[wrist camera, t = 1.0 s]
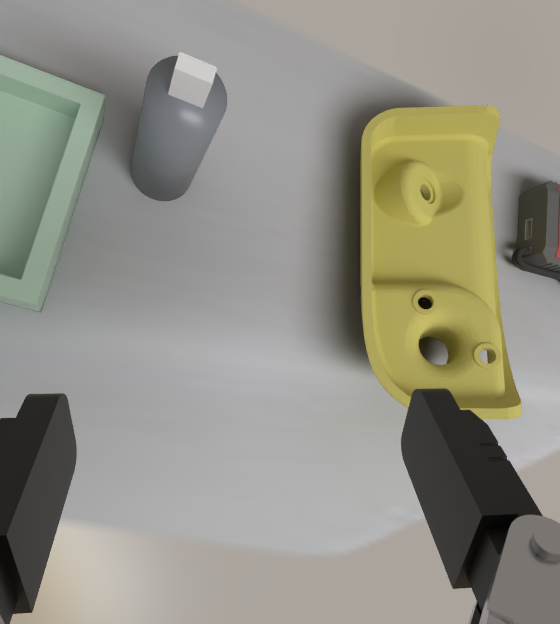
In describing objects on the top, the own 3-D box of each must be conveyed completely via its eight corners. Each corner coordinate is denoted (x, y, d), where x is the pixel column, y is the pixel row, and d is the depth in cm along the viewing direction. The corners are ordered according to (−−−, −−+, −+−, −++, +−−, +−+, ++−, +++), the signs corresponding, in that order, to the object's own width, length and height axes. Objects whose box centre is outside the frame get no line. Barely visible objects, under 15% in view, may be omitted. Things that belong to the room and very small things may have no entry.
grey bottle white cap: (123, 189, 31) (140, 88, 21) (140, 135, 32) (164, 12, 22) (183, 209, 32) (227, 122, 22) (197, 156, 33) (247, 49, 23)
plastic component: (361, 109, 35) (519, 103, 34) (357, 166, 42) (488, 163, 41) (362, 415, 30) (547, 421, 29) (357, 422, 37) (506, 426, 36)
